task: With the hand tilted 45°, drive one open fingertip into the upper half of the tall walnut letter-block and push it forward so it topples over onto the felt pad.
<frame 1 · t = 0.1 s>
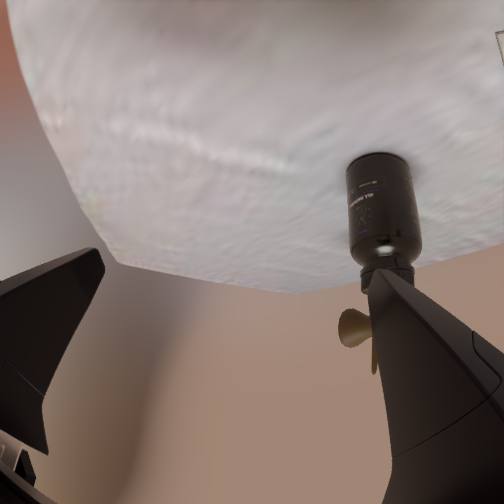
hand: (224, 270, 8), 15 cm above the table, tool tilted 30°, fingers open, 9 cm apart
supplement bottle: (377, 171, 25), on the table
kendama: (373, 227, 37), on the table
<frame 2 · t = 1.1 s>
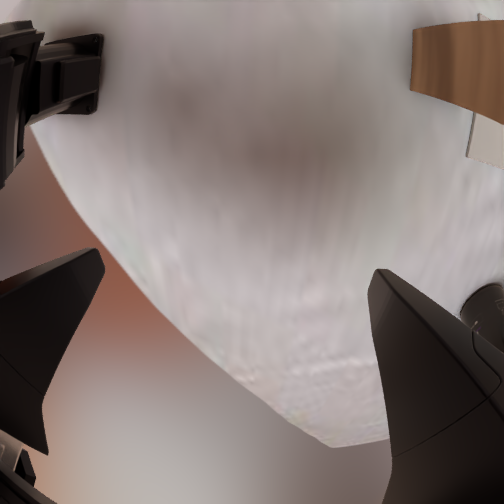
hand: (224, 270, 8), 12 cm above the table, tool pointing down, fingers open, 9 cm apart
walnut block: (440, 68, 12), on the table
supplement bottle: (481, 302, 24), on the table
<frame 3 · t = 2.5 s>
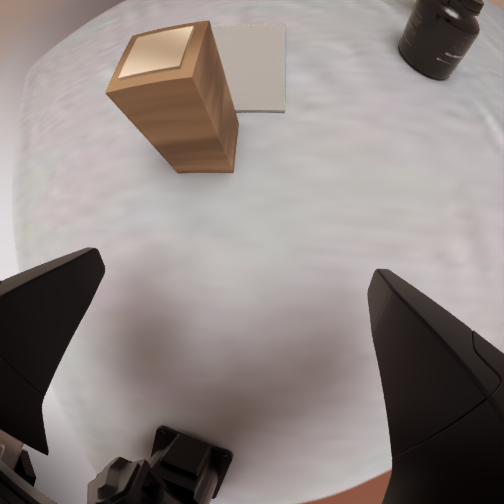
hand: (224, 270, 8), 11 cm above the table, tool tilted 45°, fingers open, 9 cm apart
felt pad: (222, 62, 22), on the table
walnut block: (208, 147, 21), on the table
supplement bottle: (424, 60, 20), on the table
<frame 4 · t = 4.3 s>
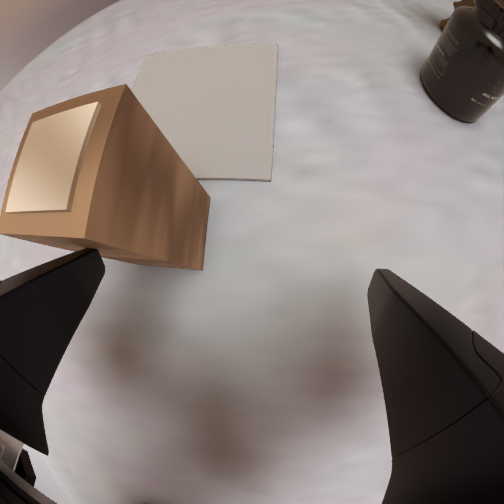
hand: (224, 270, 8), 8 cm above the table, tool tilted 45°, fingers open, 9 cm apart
felt pad: (194, 101, 18), on the table
walnut block: (172, 231, 17), on the table, touching gripper
supplement bottle: (450, 94, 17), on the table
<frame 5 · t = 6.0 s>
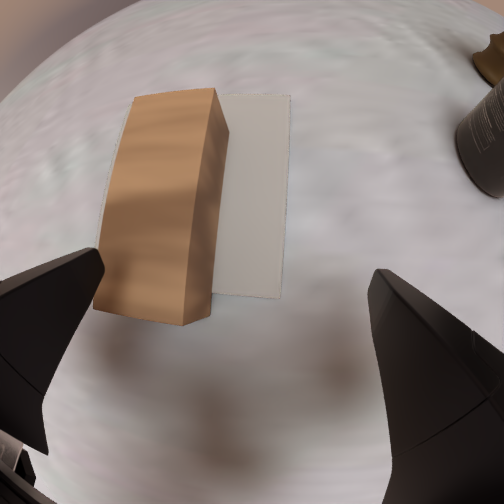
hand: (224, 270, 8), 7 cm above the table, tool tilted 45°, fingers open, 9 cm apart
felt pad: (187, 180, 16), on the table
walnut block: (155, 313, 13), point 3 cm above the table, tilted 90°, touching felt pad
supplement bottle: (484, 159, 15), on the table
kendama: (487, 75, 16), on the table
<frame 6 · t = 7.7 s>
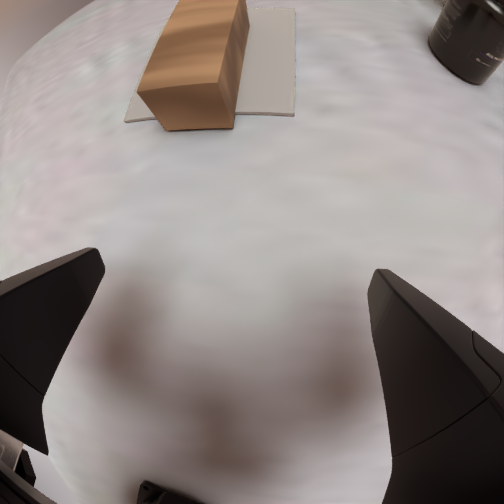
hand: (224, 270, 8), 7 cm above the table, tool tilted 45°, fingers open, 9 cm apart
felt pad: (216, 52, 17), on the table
walnut block: (187, 109, 14), point 3 cm above the table, tilted 90°, touching felt pad
supplement bottle: (456, 60, 15), on the table
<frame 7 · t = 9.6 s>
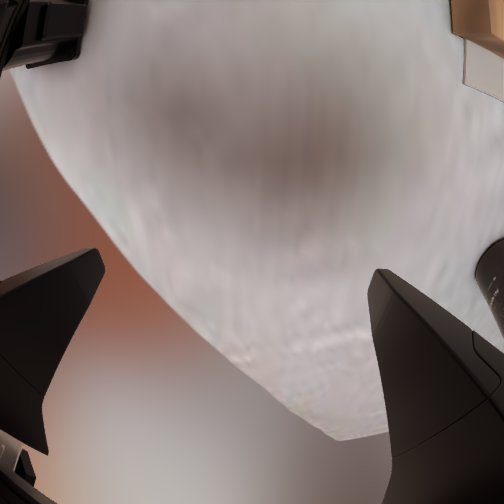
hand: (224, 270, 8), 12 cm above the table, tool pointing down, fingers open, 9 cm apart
walnut block: (468, 4, 7), point 3 cm above the table, tilted 90°, touching felt pad
supplement bottle: (495, 261, 21), on the table
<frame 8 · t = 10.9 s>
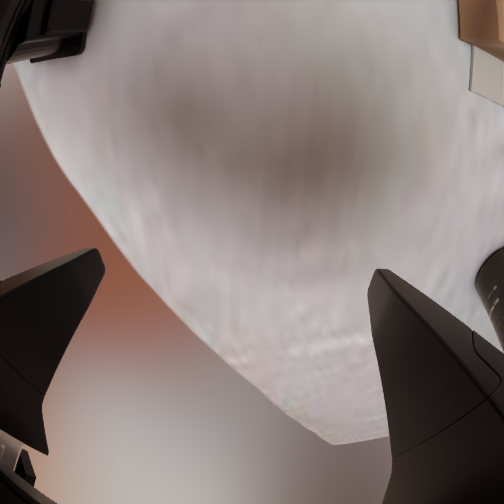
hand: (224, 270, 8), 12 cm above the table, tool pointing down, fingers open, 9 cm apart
walnut block: (476, 10, 6), point 3 cm above the table, tilted 90°, touching felt pad
supplement bottle: (496, 269, 21), on the table
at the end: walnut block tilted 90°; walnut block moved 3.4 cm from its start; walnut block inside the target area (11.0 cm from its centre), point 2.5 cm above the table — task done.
